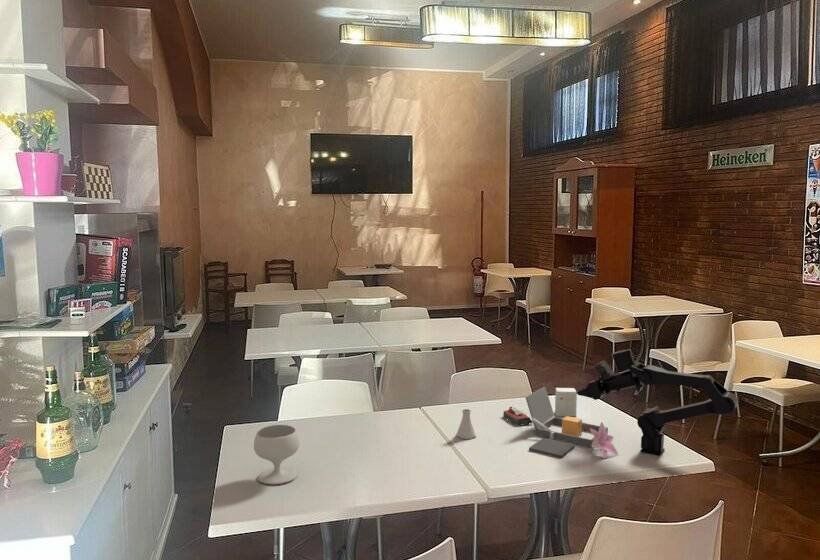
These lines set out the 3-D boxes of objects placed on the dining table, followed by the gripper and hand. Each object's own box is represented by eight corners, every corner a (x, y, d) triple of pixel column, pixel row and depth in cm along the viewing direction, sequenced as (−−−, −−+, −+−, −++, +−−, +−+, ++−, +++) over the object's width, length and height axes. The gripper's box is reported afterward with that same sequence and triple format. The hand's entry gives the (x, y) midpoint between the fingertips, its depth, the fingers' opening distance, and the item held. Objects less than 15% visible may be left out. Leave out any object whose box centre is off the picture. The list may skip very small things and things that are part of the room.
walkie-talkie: (537, 425, 238) (512, 410, 257) (537, 414, 238) (512, 400, 256) (517, 427, 235) (493, 412, 254) (517, 416, 235) (494, 402, 254)
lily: (585, 462, 203) (599, 442, 199) (573, 438, 213) (586, 418, 209) (615, 470, 206) (629, 450, 202) (602, 445, 216) (615, 425, 212)
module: (581, 434, 227) (582, 419, 226) (577, 438, 223) (577, 422, 223) (566, 431, 230) (566, 416, 230) (561, 434, 227) (562, 419, 226)
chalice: (258, 468, 196) (257, 424, 195) (302, 467, 197) (301, 422, 196) (250, 487, 182) (249, 439, 181) (297, 486, 183) (296, 438, 182)
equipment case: (607, 434, 227) (608, 398, 226) (590, 448, 213) (591, 410, 211) (543, 420, 242) (543, 386, 241) (523, 433, 228) (523, 397, 227)
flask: (479, 438, 223) (479, 411, 222) (461, 440, 220) (462, 414, 219) (470, 431, 230) (470, 406, 229) (453, 434, 227) (453, 408, 226)
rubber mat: (575, 447, 214) (575, 444, 213) (561, 458, 204) (561, 455, 204) (543, 440, 221) (543, 437, 221) (529, 450, 211) (529, 447, 211)
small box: (574, 412, 252) (574, 387, 251) (576, 416, 247) (577, 391, 246) (554, 411, 253) (555, 387, 252) (556, 416, 248) (557, 391, 247)
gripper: (622, 354, 223) (583, 364, 232) (605, 364, 208) (564, 374, 217) (632, 383, 222) (593, 392, 231) (616, 395, 207) (575, 404, 216)
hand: (581, 390), depth 224 cm, fingers open, 9 cm apart
